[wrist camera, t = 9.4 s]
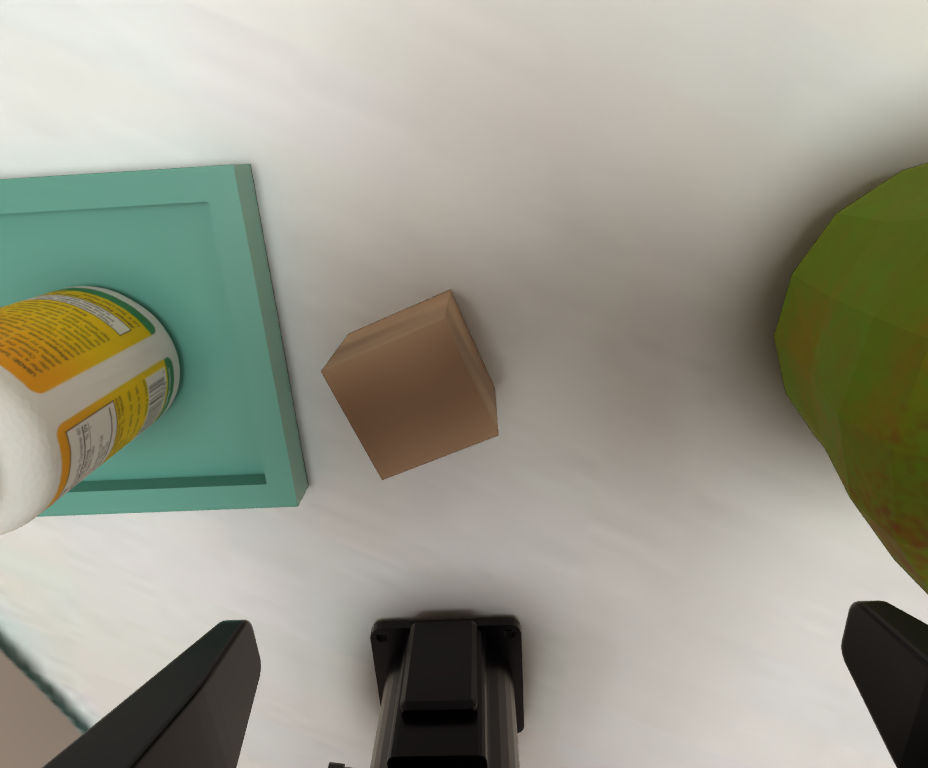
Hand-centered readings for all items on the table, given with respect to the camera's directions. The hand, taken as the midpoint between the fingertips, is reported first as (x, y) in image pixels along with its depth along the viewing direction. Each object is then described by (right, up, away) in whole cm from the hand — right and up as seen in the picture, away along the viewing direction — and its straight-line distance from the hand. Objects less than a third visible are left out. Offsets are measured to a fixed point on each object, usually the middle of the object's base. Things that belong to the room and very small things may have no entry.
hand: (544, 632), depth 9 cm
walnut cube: (-3, +5, +12) cm, 13 cm away
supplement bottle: (-14, +5, +12) cm, 19 cm away
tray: (-14, +5, +12) cm, 19 cm away
